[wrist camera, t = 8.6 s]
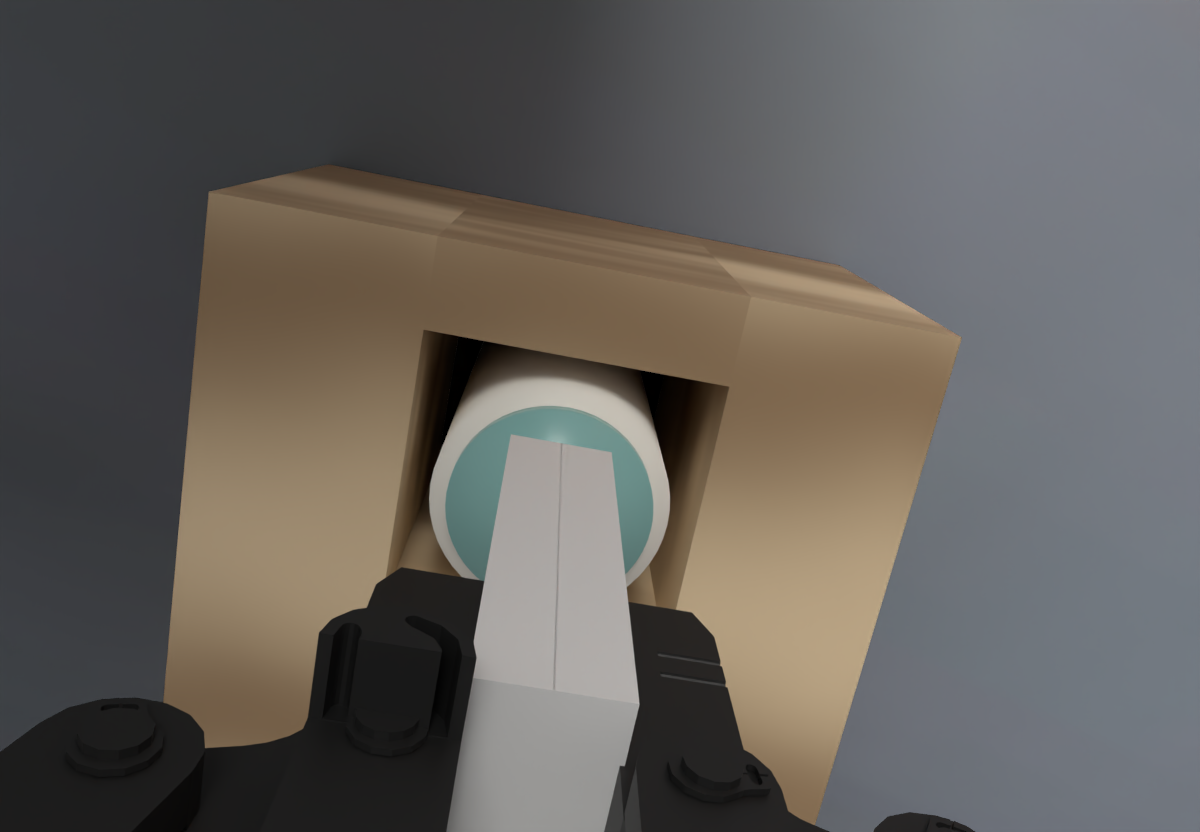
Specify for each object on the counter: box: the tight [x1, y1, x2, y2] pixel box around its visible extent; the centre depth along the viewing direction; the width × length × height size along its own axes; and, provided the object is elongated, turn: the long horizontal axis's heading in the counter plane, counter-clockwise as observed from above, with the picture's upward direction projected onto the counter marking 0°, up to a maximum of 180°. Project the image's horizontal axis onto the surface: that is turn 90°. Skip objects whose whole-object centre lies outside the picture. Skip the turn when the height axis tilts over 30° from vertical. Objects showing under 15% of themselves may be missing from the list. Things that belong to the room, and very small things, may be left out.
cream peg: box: [429, 341, 670, 587], centre depth 21 cm, size 4×4×8 cm
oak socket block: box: [163, 164, 962, 825], centre depth 22 cm, size 18×12×8 cm, turn 169°
